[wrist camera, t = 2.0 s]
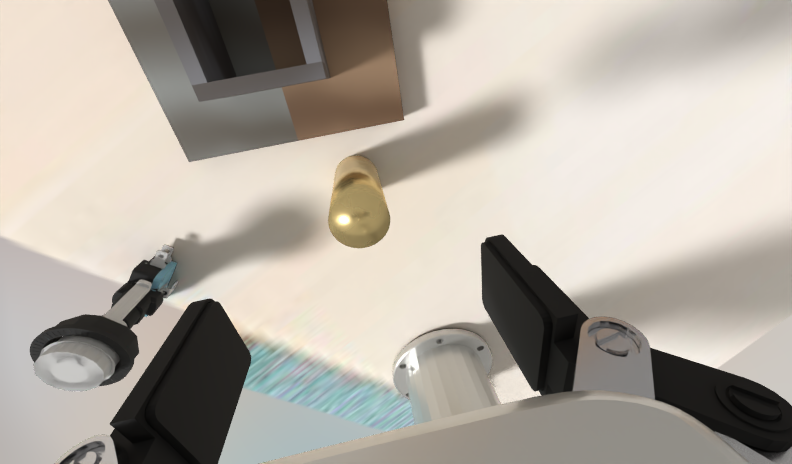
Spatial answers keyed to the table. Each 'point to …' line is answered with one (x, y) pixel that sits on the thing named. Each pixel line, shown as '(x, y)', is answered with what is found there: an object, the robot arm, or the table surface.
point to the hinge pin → (358, 204)
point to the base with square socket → (264, 68)
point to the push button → (103, 332)
